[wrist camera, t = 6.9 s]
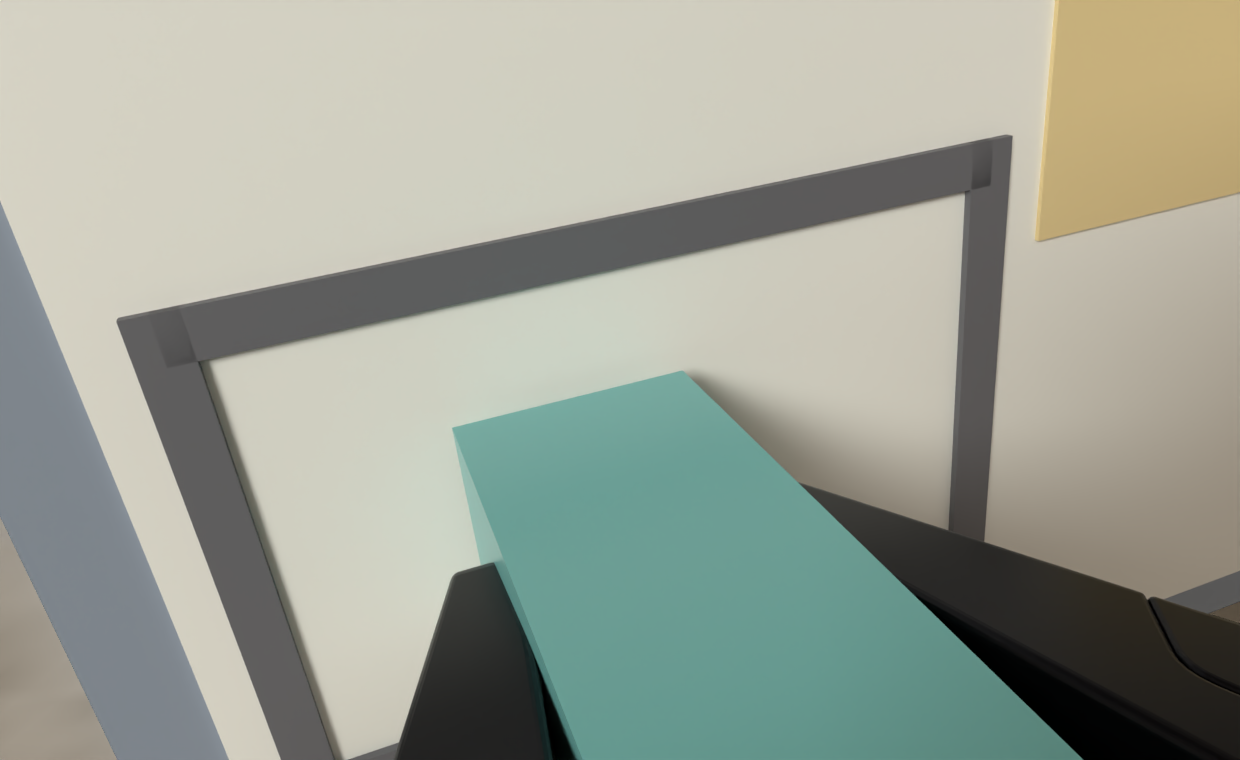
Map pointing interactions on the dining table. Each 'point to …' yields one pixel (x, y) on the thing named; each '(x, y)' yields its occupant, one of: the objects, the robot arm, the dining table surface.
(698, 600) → the teal piece
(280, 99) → the drawing board
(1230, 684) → the robot arm
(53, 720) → the dining table surface
